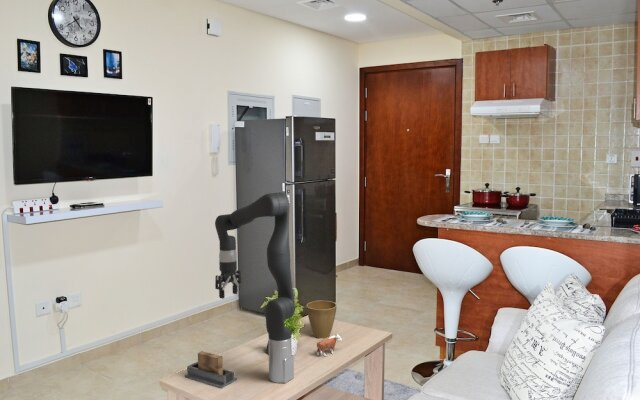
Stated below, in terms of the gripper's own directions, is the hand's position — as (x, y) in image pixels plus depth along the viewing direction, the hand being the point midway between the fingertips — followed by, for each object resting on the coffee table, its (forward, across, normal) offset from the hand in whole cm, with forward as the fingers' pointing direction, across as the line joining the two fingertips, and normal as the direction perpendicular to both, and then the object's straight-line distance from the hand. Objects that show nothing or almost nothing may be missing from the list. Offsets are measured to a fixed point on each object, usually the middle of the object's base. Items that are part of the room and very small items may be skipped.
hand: (228, 296), depth 244 cm
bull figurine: (+28, +27, -35) cm, 53 cm away
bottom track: (+28, -21, -8) cm, 36 cm away
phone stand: (+28, +16, -14) cm, 36 cm away
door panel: (+27, -21, -8) cm, 35 cm away
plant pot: (+28, +45, -20) cm, 57 cm away
